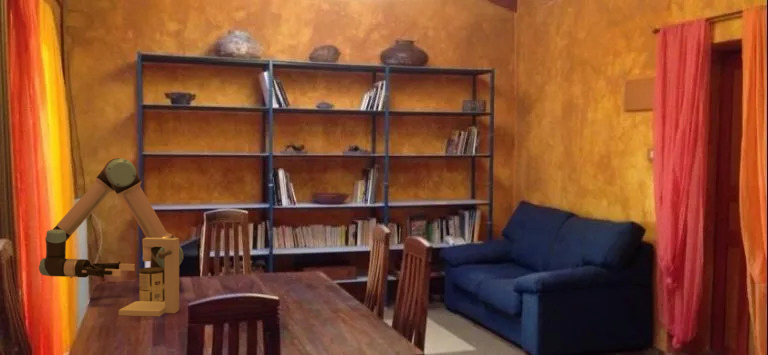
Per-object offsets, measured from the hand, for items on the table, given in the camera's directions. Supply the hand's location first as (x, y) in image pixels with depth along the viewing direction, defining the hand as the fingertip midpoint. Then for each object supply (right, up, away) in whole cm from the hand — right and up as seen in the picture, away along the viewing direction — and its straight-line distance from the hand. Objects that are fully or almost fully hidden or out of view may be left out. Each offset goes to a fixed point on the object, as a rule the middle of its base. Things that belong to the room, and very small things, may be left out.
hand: (127, 270), depth 292 cm
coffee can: (+10, -14, 0) cm, 17 cm away
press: (+15, -14, -17) cm, 27 cm away
